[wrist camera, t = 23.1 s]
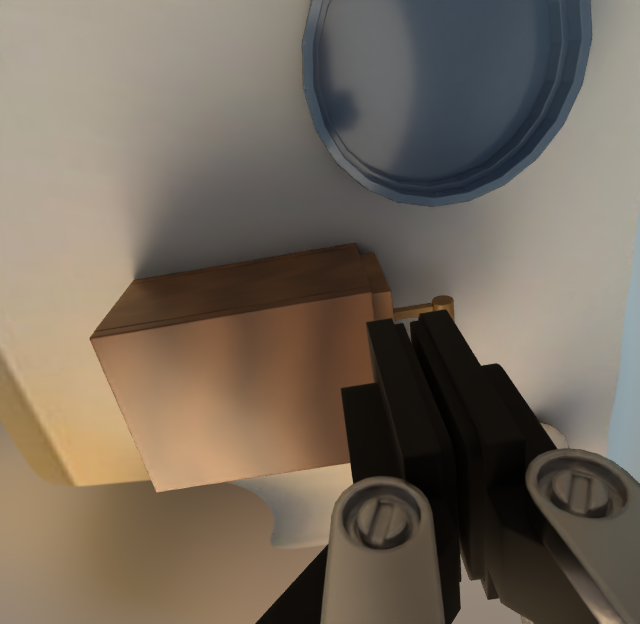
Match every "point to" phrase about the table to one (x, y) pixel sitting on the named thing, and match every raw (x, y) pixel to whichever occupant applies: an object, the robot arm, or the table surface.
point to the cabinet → (240, 365)
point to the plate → (442, 89)
